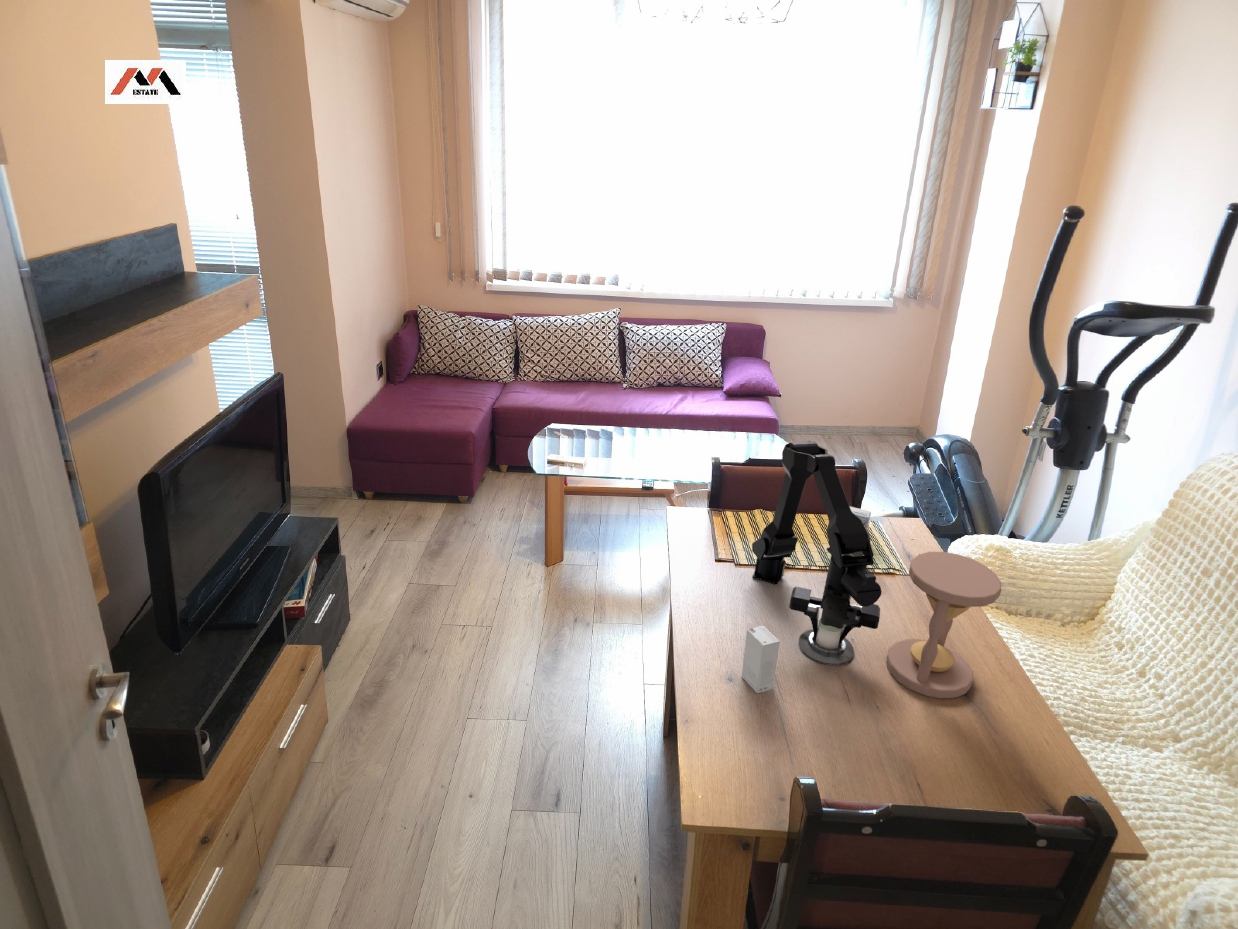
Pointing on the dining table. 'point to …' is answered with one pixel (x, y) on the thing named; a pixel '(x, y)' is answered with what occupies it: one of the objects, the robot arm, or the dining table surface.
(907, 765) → the dining table surface
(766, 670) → the skincare box
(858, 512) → the medicine box
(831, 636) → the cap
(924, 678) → the hourglass
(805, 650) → the collar
